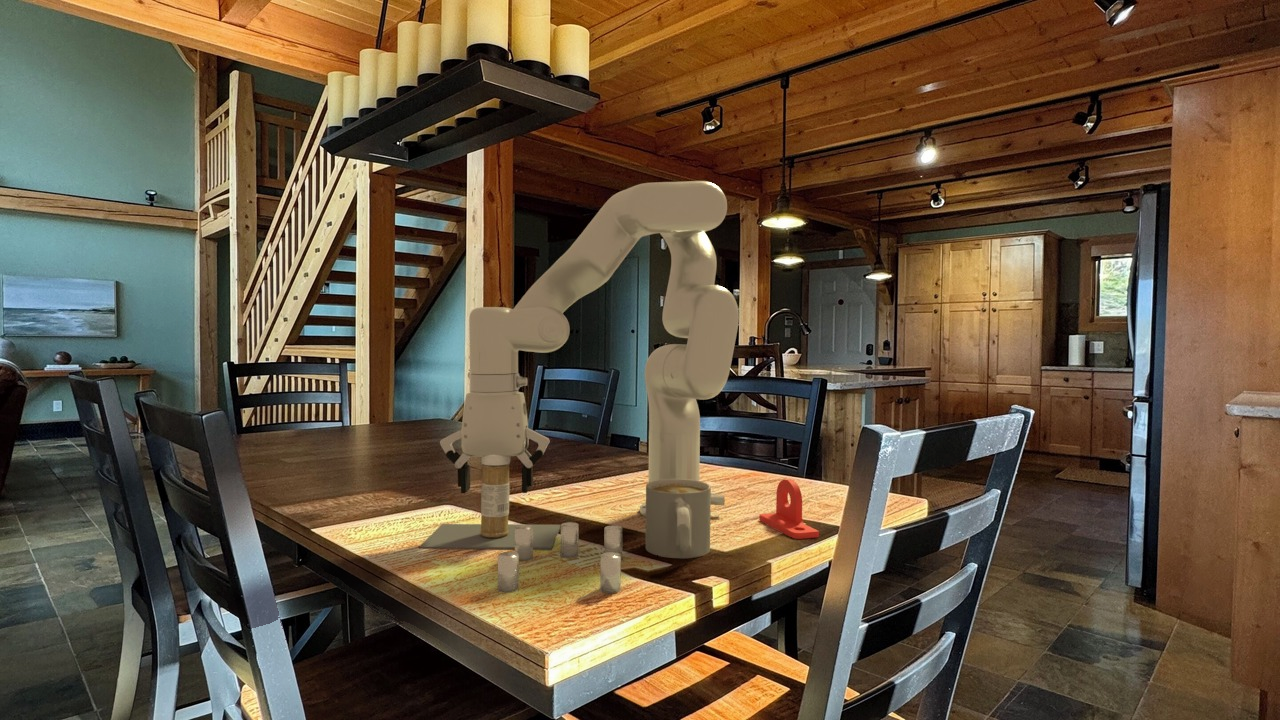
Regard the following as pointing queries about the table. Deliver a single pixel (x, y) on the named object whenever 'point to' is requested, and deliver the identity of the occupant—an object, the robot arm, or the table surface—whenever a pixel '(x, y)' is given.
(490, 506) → the sprinkles bottle
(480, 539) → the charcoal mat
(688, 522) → the coffee mug
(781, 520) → the bracket
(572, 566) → the table surface
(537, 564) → the table surface
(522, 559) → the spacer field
